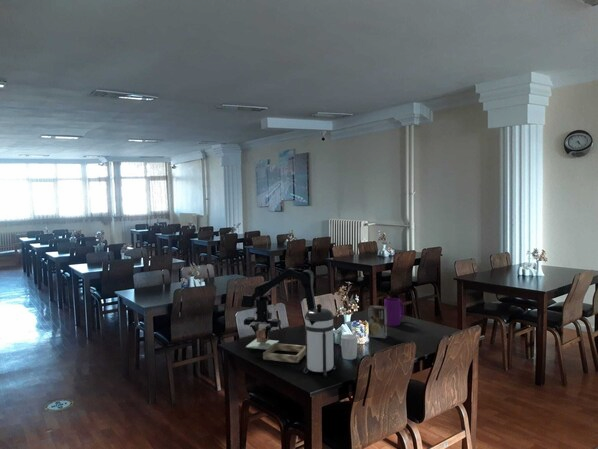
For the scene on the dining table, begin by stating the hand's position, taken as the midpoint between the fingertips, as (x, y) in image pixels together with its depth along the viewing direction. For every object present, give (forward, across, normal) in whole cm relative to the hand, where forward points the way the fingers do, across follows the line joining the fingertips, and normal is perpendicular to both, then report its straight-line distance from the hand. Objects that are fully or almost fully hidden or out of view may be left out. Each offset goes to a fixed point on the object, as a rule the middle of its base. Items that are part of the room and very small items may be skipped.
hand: (262, 338), depth 245 cm
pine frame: (+3, -17, +12) cm, 21 cm away
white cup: (+4, -47, +6) cm, 48 cm away
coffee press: (+4, -38, +25) cm, 46 cm away
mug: (+4, -61, -57) cm, 84 cm away
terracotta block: (+1, 0, 0) cm, 1 cm away
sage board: (+3, 0, 0) cm, 3 cm away
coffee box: (+4, -55, -30) cm, 63 cm away
